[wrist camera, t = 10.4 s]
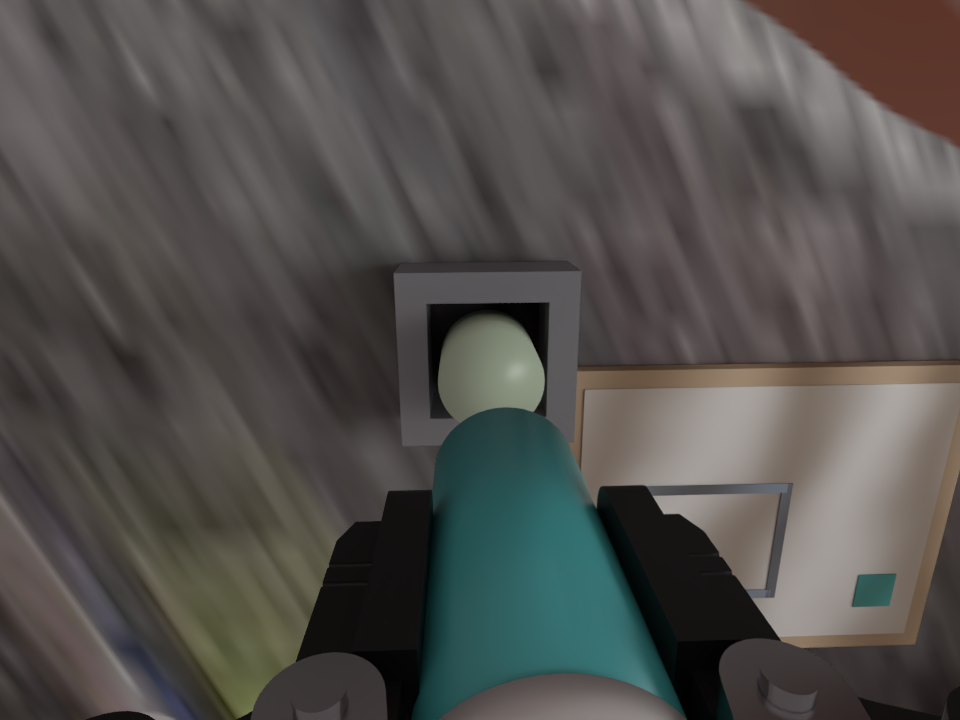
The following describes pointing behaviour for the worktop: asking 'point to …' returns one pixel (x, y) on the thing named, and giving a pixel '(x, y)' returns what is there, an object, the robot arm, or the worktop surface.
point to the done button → (488, 365)
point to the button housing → (485, 284)
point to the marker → (529, 588)
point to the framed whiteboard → (792, 479)
